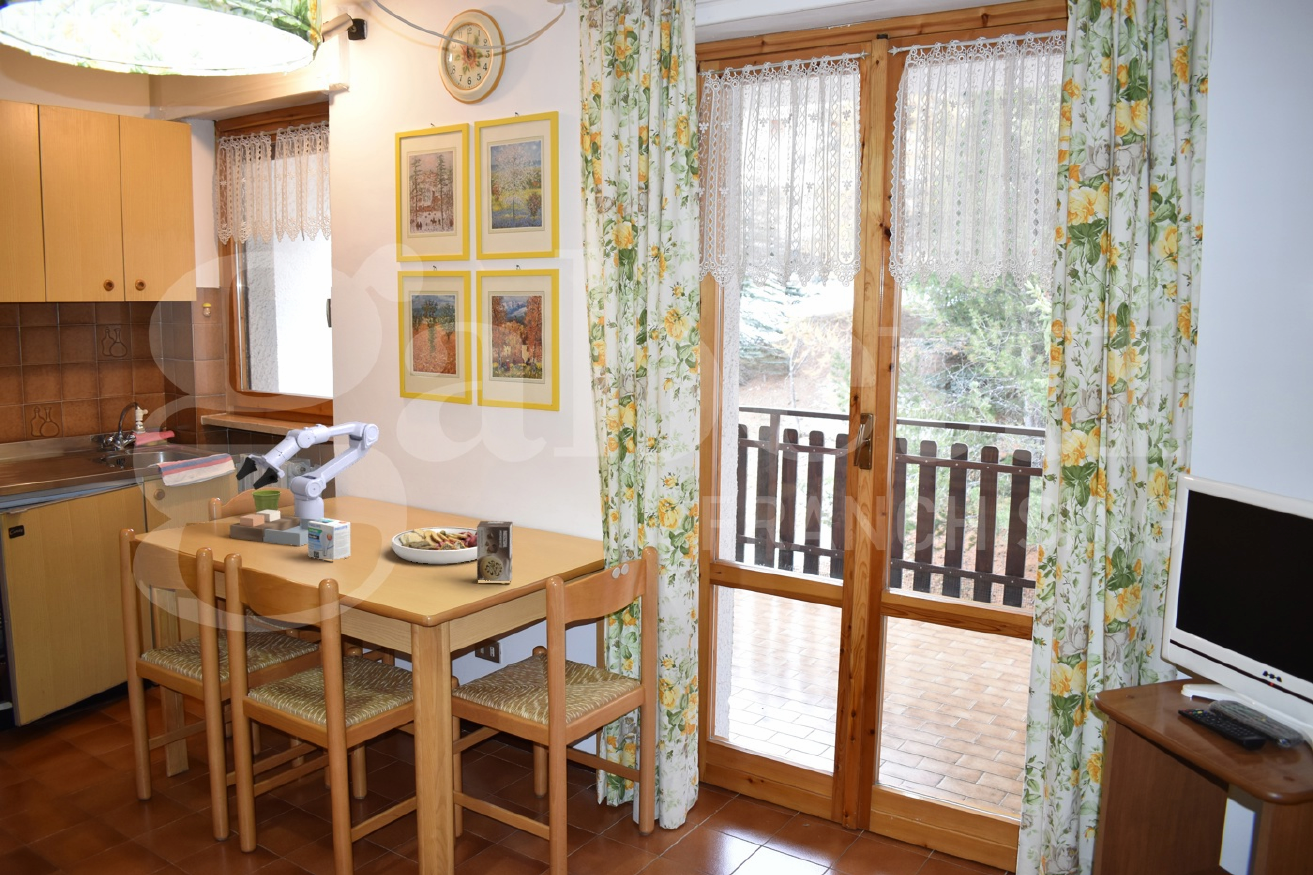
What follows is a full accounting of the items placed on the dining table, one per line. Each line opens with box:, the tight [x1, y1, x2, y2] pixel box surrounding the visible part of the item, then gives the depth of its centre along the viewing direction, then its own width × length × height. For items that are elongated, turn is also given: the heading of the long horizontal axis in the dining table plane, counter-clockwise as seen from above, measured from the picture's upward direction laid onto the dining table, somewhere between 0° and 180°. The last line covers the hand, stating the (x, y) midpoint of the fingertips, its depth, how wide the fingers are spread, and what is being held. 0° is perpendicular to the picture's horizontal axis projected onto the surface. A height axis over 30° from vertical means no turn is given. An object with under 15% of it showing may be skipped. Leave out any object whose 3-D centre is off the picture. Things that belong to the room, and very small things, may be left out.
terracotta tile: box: [239, 513, 264, 527], centre depth 295 cm, size 5×5×2 cm
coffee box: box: [476, 520, 514, 581], centre depth 257 cm, size 9×6×16 cm
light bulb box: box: [307, 517, 351, 560], centre depth 275 cm, size 11×7×11 cm, turn 62°
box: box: [263, 518, 318, 547], centre depth 296 cm, size 18×13×4 cm
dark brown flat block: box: [229, 514, 300, 543], centre depth 300 cm, size 18×12×4 cm, turn 163°
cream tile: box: [255, 510, 281, 522], centre depth 302 cm, size 5×5×2 cm
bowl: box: [391, 526, 477, 565], centre depth 284 cm, size 30×30×8 cm
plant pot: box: [251, 489, 282, 512], centre depth 322 cm, size 9×9×9 cm
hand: (245, 482), depth 295 cm, fingers open, 7 cm apart
